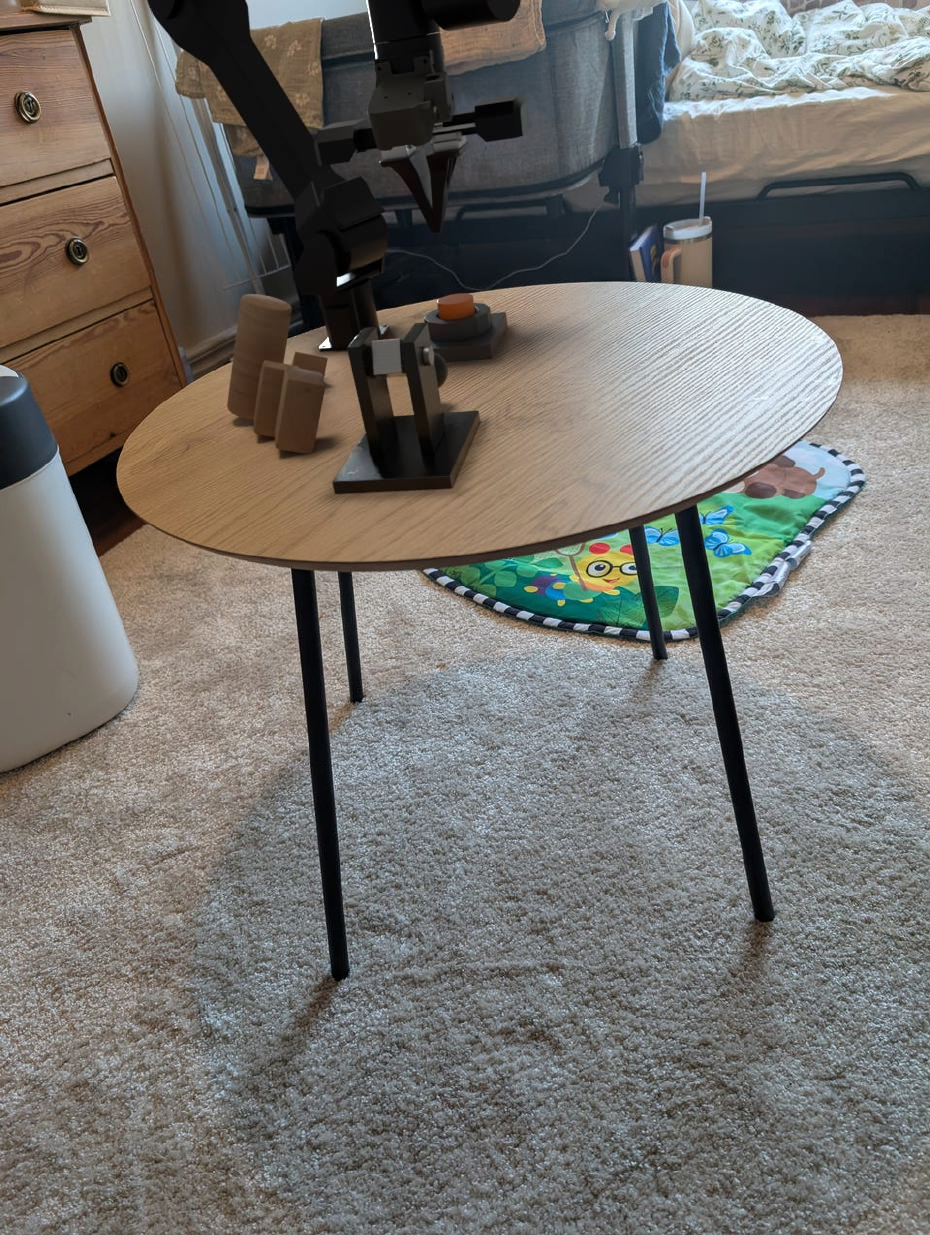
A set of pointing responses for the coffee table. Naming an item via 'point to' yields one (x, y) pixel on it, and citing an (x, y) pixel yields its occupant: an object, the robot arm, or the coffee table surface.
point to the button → (455, 306)
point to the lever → (399, 361)
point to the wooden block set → (274, 377)
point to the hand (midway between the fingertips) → (437, 232)
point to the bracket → (404, 425)
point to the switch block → (467, 334)
